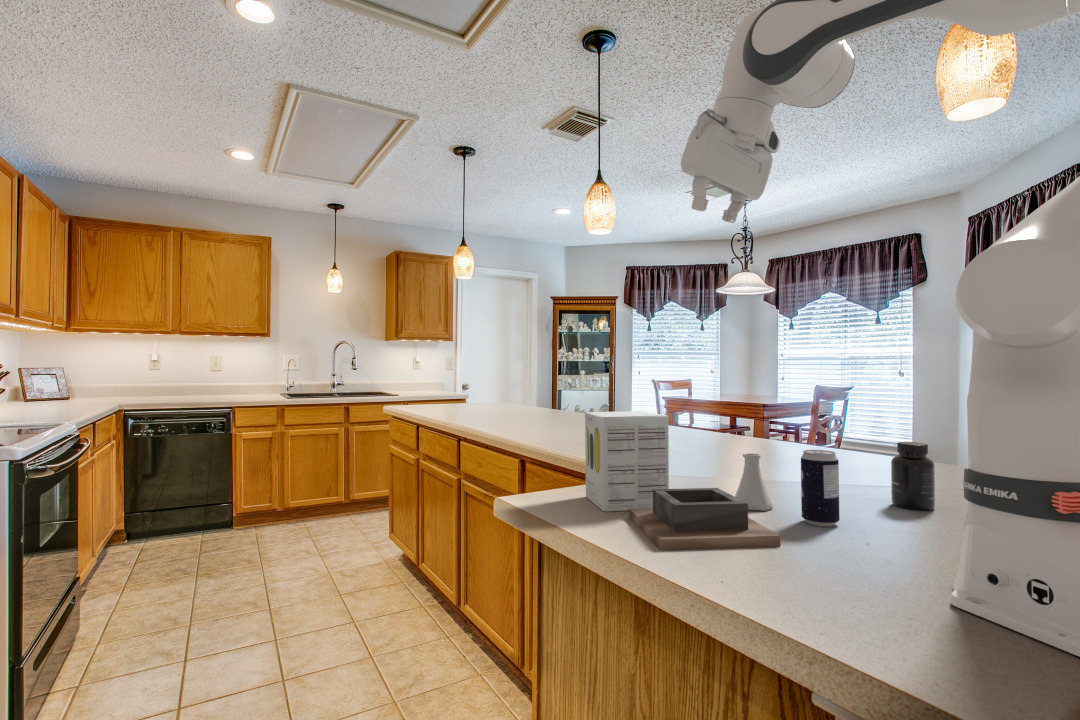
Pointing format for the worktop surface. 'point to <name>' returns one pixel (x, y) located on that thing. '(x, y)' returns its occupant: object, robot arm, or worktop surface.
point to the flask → (753, 485)
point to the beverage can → (820, 487)
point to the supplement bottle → (913, 477)
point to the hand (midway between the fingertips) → (713, 216)
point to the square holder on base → (700, 521)
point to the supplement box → (625, 458)
